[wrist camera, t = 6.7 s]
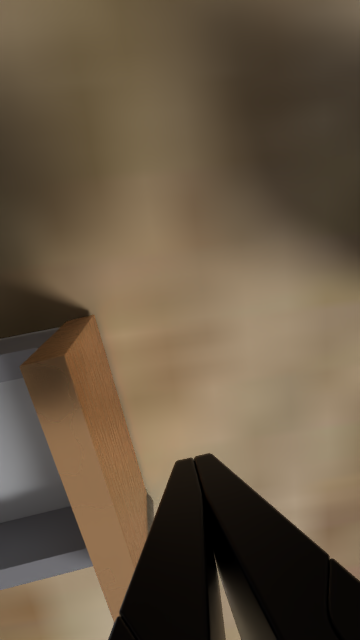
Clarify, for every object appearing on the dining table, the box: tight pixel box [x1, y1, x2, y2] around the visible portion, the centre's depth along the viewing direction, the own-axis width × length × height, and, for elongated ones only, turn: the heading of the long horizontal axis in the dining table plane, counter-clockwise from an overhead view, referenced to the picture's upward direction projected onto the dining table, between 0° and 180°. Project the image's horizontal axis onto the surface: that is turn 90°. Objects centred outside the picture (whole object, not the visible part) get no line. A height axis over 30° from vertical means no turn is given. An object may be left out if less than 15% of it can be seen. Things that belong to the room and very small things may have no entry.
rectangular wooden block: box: [19, 315, 154, 623], centre depth 12 cm, size 11×2×6 cm, turn 12°
